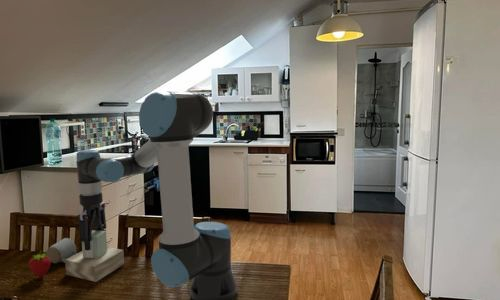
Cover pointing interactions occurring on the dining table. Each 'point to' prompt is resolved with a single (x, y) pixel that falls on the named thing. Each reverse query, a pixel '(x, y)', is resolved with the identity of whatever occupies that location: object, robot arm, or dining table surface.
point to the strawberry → (40, 264)
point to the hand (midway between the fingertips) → (95, 253)
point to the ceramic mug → (61, 250)
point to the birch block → (94, 264)
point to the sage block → (97, 243)
